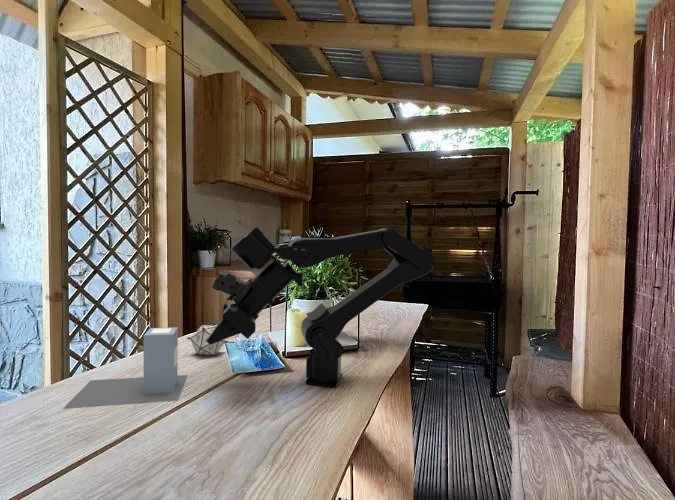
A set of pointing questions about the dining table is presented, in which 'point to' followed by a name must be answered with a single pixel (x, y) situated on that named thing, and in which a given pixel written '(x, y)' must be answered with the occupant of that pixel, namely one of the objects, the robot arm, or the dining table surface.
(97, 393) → the mat
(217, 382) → the dining table surface
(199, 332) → the game die
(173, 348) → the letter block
